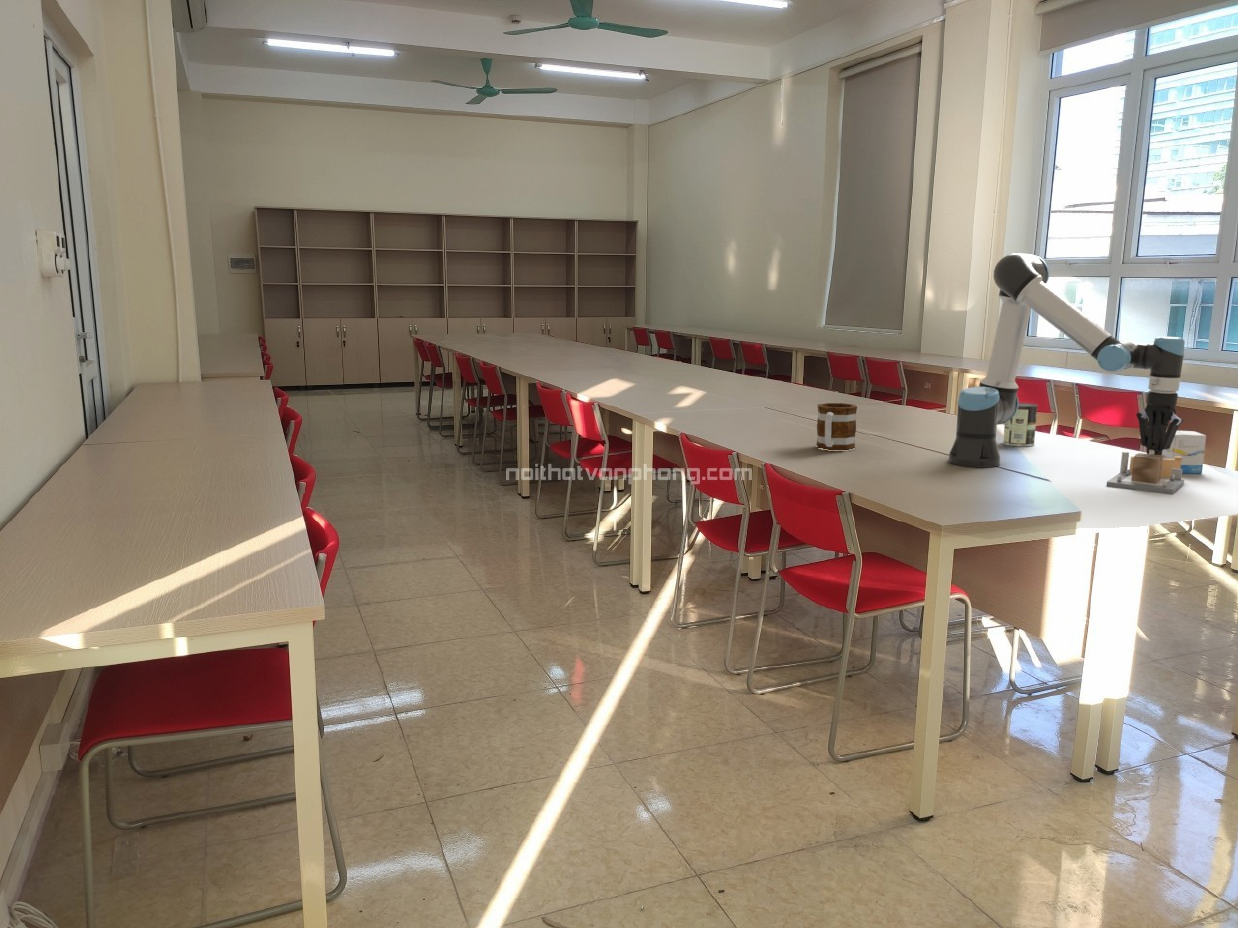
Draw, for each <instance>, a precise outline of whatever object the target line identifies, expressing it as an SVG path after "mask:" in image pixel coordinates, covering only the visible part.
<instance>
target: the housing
mask: <svg viewBox="0 0 1238 928" xmlns="http://www.w3.org/2000/svg"><path fill="white" fill-rule="evenodd" d="M1129 458H1130V452H1128V451H1122V452H1121V460H1120V468H1119V473H1118V474H1116V475H1114V476H1113V477H1112V478H1110V479H1109V480H1107V481H1106V486H1107V487H1114V488H1121V489H1128V490H1129V489H1130V490H1136V491H1142V492H1143V491H1145V492H1153V493H1160V494H1168V495H1174V494H1175V493H1176V492H1177V491H1178V490H1179V489H1180V488H1182V486H1183V485H1184V484H1185V479H1182V475H1183V473H1182V469H1174V468H1172V475H1171V477H1170V478H1163V477H1161V478H1160V481H1159V482H1157V483H1156V484H1154V483H1146V482H1138V481H1131V478H1132V474H1130V471H1131V470H1129V469H1128V467H1129Z"/></svg>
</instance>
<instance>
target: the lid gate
mask: <svg viewBox="0 0 1238 928" xmlns="http://www.w3.org/2000/svg"><path fill="white" fill-rule="evenodd" d="M1133 460H1134V456H1130V461H1129V469H1128V470H1131V471H1130V474H1132V469H1133ZM1181 460H1182V457H1179V456H1174V459H1164V458H1163V461H1162V470H1161V477H1163V478H1170V477H1171V475H1172V468H1174V469H1180V468H1181Z"/></svg>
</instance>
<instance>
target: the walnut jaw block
mask: <svg viewBox="0 0 1238 928" xmlns="http://www.w3.org/2000/svg"><path fill="white" fill-rule="evenodd" d="M1133 457H1134V460H1133V469H1132V478H1131V481H1138V482H1146V483H1154V484H1156V483H1157V482H1159V481H1160V478H1161V470H1162V461H1163V455H1153V454H1147V453H1142V452H1141V453H1140V452H1137V453H1136V454H1134V456H1133Z"/></svg>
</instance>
